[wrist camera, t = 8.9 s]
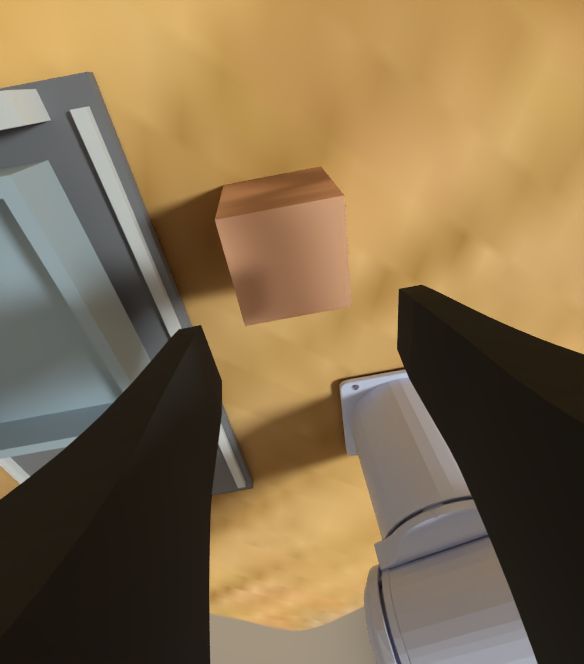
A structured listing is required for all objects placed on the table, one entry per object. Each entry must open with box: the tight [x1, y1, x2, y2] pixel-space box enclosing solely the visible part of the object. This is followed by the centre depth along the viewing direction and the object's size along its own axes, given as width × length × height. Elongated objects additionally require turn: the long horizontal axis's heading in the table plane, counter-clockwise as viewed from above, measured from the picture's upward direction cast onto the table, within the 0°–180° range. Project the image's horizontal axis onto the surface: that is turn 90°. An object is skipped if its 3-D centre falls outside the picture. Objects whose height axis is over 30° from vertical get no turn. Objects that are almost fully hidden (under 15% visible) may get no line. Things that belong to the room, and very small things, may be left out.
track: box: [0, 72, 253, 495], centre depth 21 cm, size 16×28×3 cm, turn 9°
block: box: [215, 167, 352, 326], centre depth 15 cm, size 4×4×5 cm
